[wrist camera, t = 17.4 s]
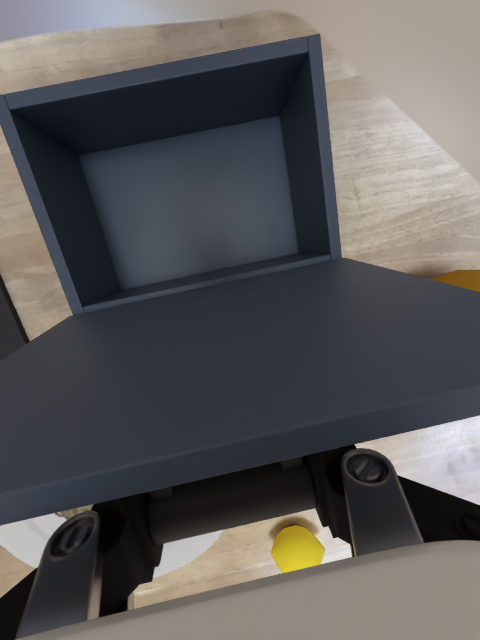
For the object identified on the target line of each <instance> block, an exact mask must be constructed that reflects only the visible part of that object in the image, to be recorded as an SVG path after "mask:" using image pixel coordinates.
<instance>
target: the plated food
mask: <svg viewBox="0 0 480 640" xmlns="http://www.w3.org/2000/svg"><path fill="white" fill-rule="evenodd" d="M92 506H93V504H92V505H88V506H83V507H79V508H75V509H70V510H66V511H62V512H57V513H53V514H49V515H44V516H40V517H36V518H31V519H27V520H23V521H18V522H14V523H10V524H5V525H1V526H0V545H1V546H2V547H3V548H4V549H6V550H7V551H9V552H10V553H11V554H13V555H14V556H15V557H17V558H18V559H20V560H21V561H22V562H24V563H26V564H28V565H30V566H32V567H34V568H37V567H38V566H39V563H40V560H41V557H42V554H43V551H44V548H45V546H46V544H47V541H48V540H49V538H50V537H51V536H52V534H53V533H54V532H55V531H56V530H57V529H58V527H59V526H60V525H61V524H63V523H64V522H65V521H67V520H68V519H69V518H71V517H73V516H74V515H76V514H78V513H81V512H84V511H90V510H91V508H92ZM224 530H225V529H224ZM224 530H220V531H216V532H211V533H207V534H203V535H199V536H194V537H190V538H186V539H182V540H177V541H173V542H169V543H165V544H164V546H163V551H162V556H161V561H160V565H159V566H158V567H155V569H154V574H153V578H157V577H161V576H163V575H165V574H168V573H170V572H173V571H175V570H177V569H180V568H182V567H183V566H185V565H186V564H188V563H190V562H191V561H193V560H195V559H196V558H198V557H199V556H200V555H201V554H203V553H204V552H205V551H206V550H207V549H208V548H209V547H210V546H212V545H213V544H214V543H215V541H216V540H217V539H218V537H219V536H220V535H221V533H222V532H223V531H224Z"/></svg>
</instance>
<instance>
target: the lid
mask: <svg viewBox="0 0 480 640" xmlns="http://www.w3.org/2000/svg"><path fill="white" fill-rule="evenodd" d="M479 415H480V292H478V291H474V290H470V289H466V288H462V287H458V286H454V285H450V284H446V283H442V282H438V281H435V280H431V279H427V278H423V277H419V276H415V275H411V274H407V273H403V272H399V271H395V270H391V269H387V268H383V267H379V266H375V265H371V264H367V263H363V262H359V261H355V260H352V259H348V258H342V259H337V260H332V261H327V262H323V263H318V264H313V265H309V266H304V267H299V268H295V269H290V270H285V271H281V272H276V273H271V274H266V275H262V276H257V277H252V278H248V279H243V280H238V281H234V282H229V283H224V284H219V285H215V286H210V287H205V288H201V289H196V290H191V291H187V292H182V293H177V294H173V295H168V296H163V297H158V298H154V299H149V300H144V301H140V302H135V303H130V304H126V305H121V306H116V307H112V308H107V309H102V310H97V311H93V312H88V313H83V314H79V315H74V316H69V317H68V318H66V319H65V320H63V321H62V322H60V323H58V324H57V325H55V326H54V327H52V328H51V329H49V330H48V331H46V332H44V333H43V334H41V335H40V336H38V337H37V338H35V339H34V340H32V341H30V342H29V343H27V344H26V345H24V346H23V347H21V348H19V349H18V350H16V351H15V352H13V353H12V354H10V355H9V356H7V357H5V358H4V359H2V360H1V361H0V526H1V525H5V524H10V523H14V522H18V521H23V520H27V519H31V518H36V517H40V516H44V515H49V514H53V513H57V512H62V511H66V510H70V509H75V508H79V507H83V506H88V505H92V504H97V503H101V502H105V501H110V500H114V499H118V498H123V497H127V496H131V495H136V494H140V493H144V492H148V497H147V524H148V530H149V534H150V537H151V539H152V541H153V542H154V543H155V544H157V545H160V544H165V543H169V542H173V541H177V540H182V539H186V538H190V537H194V536H199V535H203V534H207V533H211V532H216V531H220V530H224V529H228V528H233V527H237V526H241V525H245V524H250V523H254V522H258V521H262V520H267V519H271V518H275V517H279V516H284V515H288V514H292V513H297V512H301V511H305V510H309V509H314V508H316V507H317V506H318V499H317V493H316V489H315V484H314V480H313V477H312V473H311V470H310V467H309V464H308V461H307V458H306V456H305V455H309V454H314V453H318V452H322V451H327V450H331V449H336V448H340V447H344V446H349V445H353V444H357V443H362V442H366V441H370V440H375V439H379V438H383V437H388V436H392V435H396V434H401V433H405V432H409V431H414V430H418V429H422V428H427V427H431V426H435V425H440V424H444V423H448V422H453V421H457V420H462V419H466V418H470V417H475V416H479Z"/></svg>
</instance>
